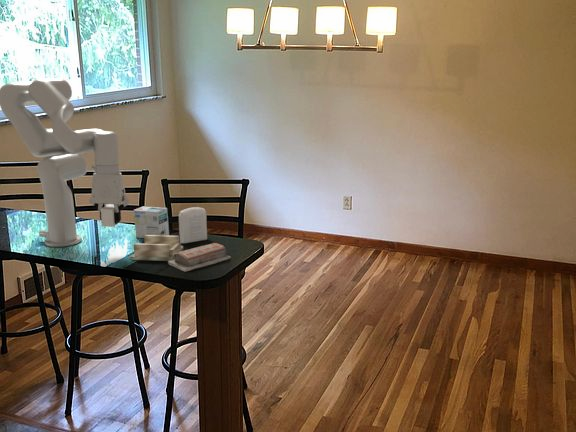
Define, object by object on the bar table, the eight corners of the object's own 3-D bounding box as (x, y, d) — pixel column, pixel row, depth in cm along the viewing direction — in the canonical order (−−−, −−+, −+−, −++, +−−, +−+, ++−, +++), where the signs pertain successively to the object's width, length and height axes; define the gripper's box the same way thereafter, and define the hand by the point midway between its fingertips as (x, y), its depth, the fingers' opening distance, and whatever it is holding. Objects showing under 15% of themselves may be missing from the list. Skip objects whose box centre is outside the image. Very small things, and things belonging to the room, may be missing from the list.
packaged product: (212, 239, 203) (230, 246, 196) (213, 253, 204) (231, 260, 197) (166, 251, 191) (184, 258, 184) (167, 265, 192) (185, 273, 185)
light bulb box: (169, 235, 224) (167, 207, 221) (160, 240, 218) (158, 211, 215) (145, 233, 228) (142, 205, 225) (135, 237, 221) (132, 209, 219)
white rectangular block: (102, 226, 200) (100, 209, 198) (109, 220, 206) (108, 204, 204) (113, 226, 200) (112, 209, 198) (120, 221, 205) (119, 204, 203)
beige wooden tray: (130, 259, 197) (129, 245, 196) (144, 247, 210) (143, 233, 208) (171, 260, 195) (170, 246, 194) (183, 248, 208) (182, 234, 207)
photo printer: (204, 237, 221) (202, 204, 218) (209, 239, 218) (207, 206, 215) (178, 241, 216) (176, 208, 213) (183, 244, 212) (181, 211, 209)
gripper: (78, 170, 195) (82, 224, 200) (127, 172, 193) (130, 227, 198) (88, 166, 202) (92, 218, 207) (136, 168, 200) (138, 220, 205)
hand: (110, 221), depth 202 cm, fingers closed on white rectangular block, 4 cm apart
